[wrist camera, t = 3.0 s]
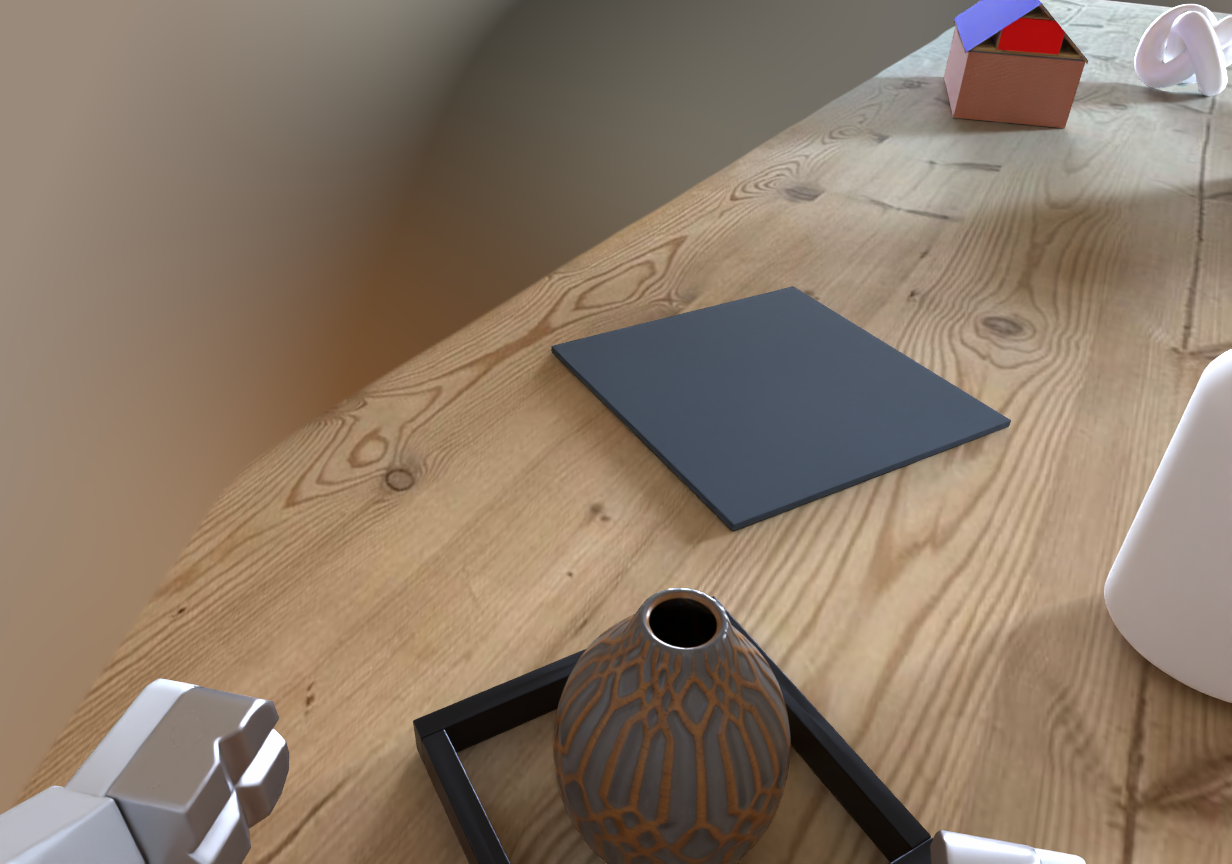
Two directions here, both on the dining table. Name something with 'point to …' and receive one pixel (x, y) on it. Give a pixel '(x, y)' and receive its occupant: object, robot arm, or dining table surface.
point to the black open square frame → (542, 694)
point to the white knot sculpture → (1186, 50)
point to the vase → (672, 737)
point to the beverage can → (1184, 549)
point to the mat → (773, 401)
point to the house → (1012, 65)
